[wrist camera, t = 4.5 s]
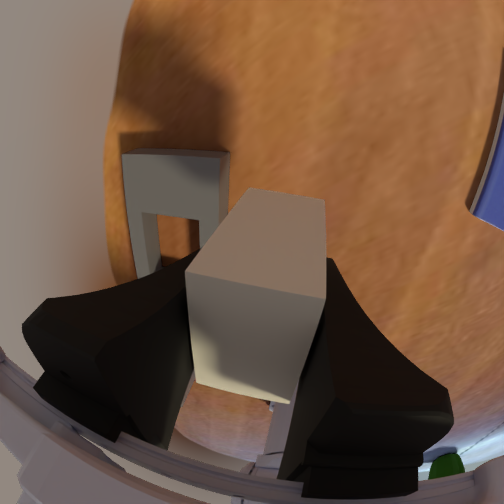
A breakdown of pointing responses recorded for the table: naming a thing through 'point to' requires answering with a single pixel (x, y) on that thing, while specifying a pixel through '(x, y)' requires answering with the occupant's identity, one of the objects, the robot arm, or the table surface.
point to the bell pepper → (446, 466)
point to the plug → (258, 295)
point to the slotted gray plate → (172, 198)
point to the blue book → (492, 182)
